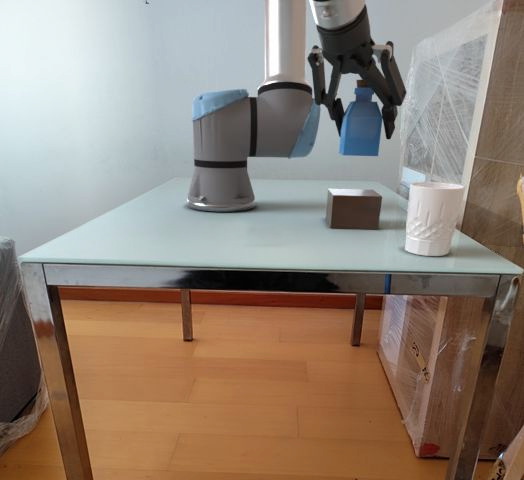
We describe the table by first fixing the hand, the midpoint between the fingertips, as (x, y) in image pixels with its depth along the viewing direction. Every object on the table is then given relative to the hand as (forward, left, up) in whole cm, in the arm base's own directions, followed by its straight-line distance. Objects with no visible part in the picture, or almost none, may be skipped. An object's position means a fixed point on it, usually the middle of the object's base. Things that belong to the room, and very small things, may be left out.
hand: (366, 132), depth 89 cm
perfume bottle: (+3, -2, -4) cm, 5 cm away
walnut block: (+3, -2, -16) cm, 17 cm away
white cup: (+23, +7, -17) cm, 29 cm away
